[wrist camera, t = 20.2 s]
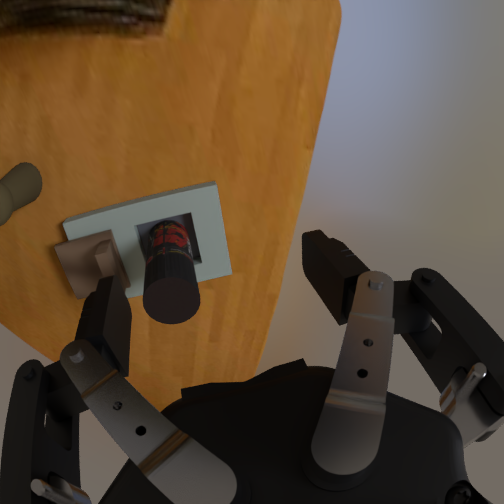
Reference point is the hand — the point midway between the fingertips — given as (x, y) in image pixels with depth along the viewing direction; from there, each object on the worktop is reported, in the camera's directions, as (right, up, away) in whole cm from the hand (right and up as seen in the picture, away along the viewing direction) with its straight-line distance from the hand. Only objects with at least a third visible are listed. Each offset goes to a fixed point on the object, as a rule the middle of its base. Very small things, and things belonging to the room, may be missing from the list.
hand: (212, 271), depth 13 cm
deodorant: (-10, +3, +30) cm, 32 cm away
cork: (-30, +11, +20) cm, 38 cm away
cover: (-21, -1, +26) cm, 33 cm away
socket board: (-13, +2, +30) cm, 33 cm away
